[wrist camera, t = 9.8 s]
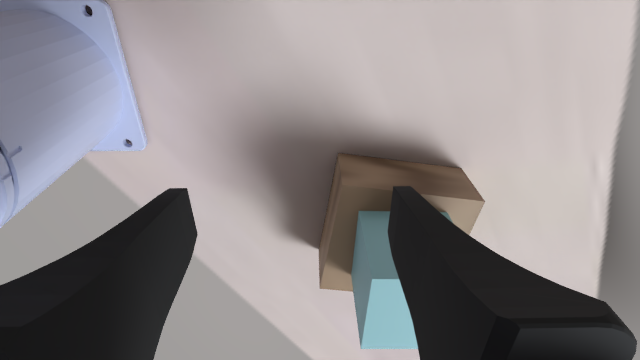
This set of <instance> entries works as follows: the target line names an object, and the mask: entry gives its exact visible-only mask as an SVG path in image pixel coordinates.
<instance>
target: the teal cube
mask: <svg viewBox="0 0 640 360" xmlns="http://www.w3.org/2000/svg"><path fill="white" fill-rule="evenodd" d="M440 213H441V214H443V215H444V216H445V217H446V218H447V219H448V220H450V221H451V222H452V220H451V218H450V216H449V214H448V213H447V212H440ZM389 216H390V211H359V213H358V221H357V230H356V238H355V247H354V255H353V264H352V272H351V278H352V285H353V293H354V300H355V308H356V315H357V323H358V330H359V338H360V345H361V349H418V345H417V341H416V336H415V331H414V326H413V322H412V318H411V315H410V311H409V308H408V305H407V302H406V299H405V296H404V293H403V289H402V286H401V283H400V280H399V277H398V274H397V271H396V268H395V265H394V262H393V258H392V254H391V249H390V244H389V238H388V224H389ZM452 223H453V222H452Z"/></svg>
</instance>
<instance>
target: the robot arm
mask: <svg viewBox="0 0 640 360" xmlns="http://www.w3.org/2000/svg"><path fill="white" fill-rule="evenodd" d="M86 5H88V6H89V7H90V8H91V9H92V12H93V14H92V16H91V15H89V14H88V13H87V12H86V9H85V7H86ZM126 139H128V140H130V141H131V142H132V145H131V144H128V143H127V142H126ZM146 146H147V138H146V135H145V131H144V127H143V124H142V120H141V116H140V113H139V109H138V105H137V102H136V98H135V94H134V91H133V87H132V84H131V80H130V76H129V73H128V69H127V65H126V62H125V58H124V54H123V51H122V47H121V43H120V40H119V36H118V33H117V29H116V25H115V22H114V18H113V14H112V11H111V8H110V6H109V5H108V4H107V3H106V2H105V1H104V0H0V228H1V227H2V226H3V225H4V224H5V223H6V222H7V221H8V220H10V219H11V218H12V217H13V216H14V215H16V214H17V213H18V212H19V211H20V210H21V209H22V208H24V207H25V206H26V205H27V204H28V203H30V202H31V201H32V200H33V199H34V198H35V197H36V196H38V195H39V194H40V193H41V192H42V191H43V190H45V189H46V188H47V187H48V186H49V185H50V184H52V183H53V182H54V181H55V180H56V179H57V178H59V177H60V176H61V175H62V174H63V173H64V172H66V171H67V170H68V169H69V168H70V167H71V166H73V165H74V164H75V163H76V162H77V161H78V160H80V159H81V158H82V157H83V156H84V155H85V154H87V153H88V152H89V151H140V150H143V149H144V148H145V147H146ZM196 238H197V230H196V226H195V221H194V217H193V212H192V208H191V204H190V199H189V195H188V191H187V188H170V189H168V190H166V191H165V192H163V193H162V194H160V195H159V196H157V197H156V198H154V199H153V200H152V201H150V202H149V203H148V204H146V205H145V206H143V207H142V208H141V209H139V210H138V211H136V212H135V213H134V214H132V215H131V216H130V217H128V218H127V219H125V220H124V221H122V222H121V223H119V224H118V225H116V226H115V227H113V228H112V229H110V230H109V231H107V232H106V233H104V234H103V235H101V236H99V237H98V238H96V239H95V240H93V241H91V242H90V243H88V244H86V245H84V246H83V247H81V248H79V249H77V250H75V251H74V252H72V253H70V254H68V255H66V256H64V257H62V258H60V259H59V260H56V261H54V262H52V263H50V264H48V265H46V266H44V267H42V268H39V269H38V270H35V271H33V272H31V273H29V274H27V275H24V276H22V277H20V278H17V279H15V280H13V281H10V282H8V283H5V284H3V285H0V360H153V359H154V355H155V352H156V348H157V345H158V342H159V338H160V335H161V332H162V329H163V326H164V323H165V320H166V318H167V315H168V312H169V310H170V308H171V305H172V303H173V301H174V298H175V296H176V294H177V291H178V289H179V287H180V284H181V282H182V280H183V277H184V275H185V273H186V270H187V268H188V265H189V263H190V260H191V257H192V254H193V250H194V246H195V242H196ZM388 238H389V244H390V249H391V254H392V258H393V262H394V265H395V268H396V271H397V274H398V277H399V280H400V283H401V286H402V289H403V293H404V296H405V299H406V302H407V305H408V308H409V311H410V315H411V318H412V322H413V326H414V331H415V336H416V341H417V345H418V350H419V355H420V360H632V358H633V357H634V355H635V352H636V345H637V341H636V339H635V337H634V335H633V333H632V332H631V331H630V330H629V329H628V327H627V326H626V325H625V324H624V323H623V322H622V320H621V319H620V318H619V317H618V316H617V314H615V312H614V311H613V310H612V309H611V308H610V306H608V304H607V303H606V302H604V301H601V300H598V299H596V298H593V297H590V296H588V295H585V294H582V293H580V292H577V291H574V290H572V289H569V288H566V287H564V286H562V285H559V284H557V283H555V282H552V281H550V280H548V279H546V278H543V277H541V276H539V275H537V274H535V273H533V272H531V271H529V270H526V269H524V268H523V267H521V266H519V265H517V264H515V263H513V262H511V261H509V260H508V259H506V258H504V257H502V256H500V255H499V254H497V253H495V252H494V251H492V250H490V249H489V248H487V247H486V246H484V245H483V244H481V243H480V242H478V241H476V240H475V239H474V238H472V237H471V236H469V235H468V234H467V233H465V232H464V231H463V230H461V229H460V228H459V227H457V226H456V225H455V224H453V223H452V222H451V221H450V220H448V219H447V218H446V217H445V216H444V215H443V214H441V213H440V212H439V211H438V210H437V209H436V208H434V207H433V206H432V205H431V204H430V203H429V202H428V201H427V200H426V199H425V198H423V197H422V196H421V195H420V194H419V193H418V192H417V191H416V190H415V189H413V188H412V187H411V186H393V192H392V200H391V208H390V216H389V224H388Z"/></svg>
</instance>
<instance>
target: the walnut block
mask: <svg viewBox="0 0 640 360" xmlns="http://www.w3.org/2000/svg"><path fill="white" fill-rule="evenodd" d="M393 186H411V187H412V188H413V189H415V190H416V191H417V192H418V193H419V194H420V195H421V196H422V197H423V198H425V199H426V200H427V201H428V202H429V203H430V204H431V205H432V206H433V207H434V208H436V209H437V210H438V211H439V212H447V213H448V214H449V216H450V218H451V220H452V222H453V224H455V225H456V226H457V227H459V228H460V229H461V230H463V231H464V232H465V233H467V234H468V235H469V234H470V232H471V230H472V228H473V226H474V224H475V222H476V220H477V217H478V215H479V213H480V211H481V209H482V207H483V205H484V203H485V201H484V199H483V198H482V197H481V195H480V194H479V192H478V191H477V190H476V188H475V187H474V185H473V184H472V183H471V181H470V180H469V178H468V177H467V176H466V174H465V173H464V171H463V170H462V169H461V168H453V167H446V166H438V165H430V164H422V163H414V162H406V161H398V160H390V159H383V158H375V157H367V156H359V155H351V154H343V153H338V156H337V161H336V166H335V171H334V176H333V181H332V186H331V191H330V196H329V201H328V206H327V211H326V216H325V221H324V226H323V231H322V236H321V241H320V246H319V276H320V289H331V290H342V291H353V285H352V278H351V272H352V264H353V255H354V247H355V238H356V230H357V221H358V213H359V211H390V208H391V200H392V192H393Z"/></svg>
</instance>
